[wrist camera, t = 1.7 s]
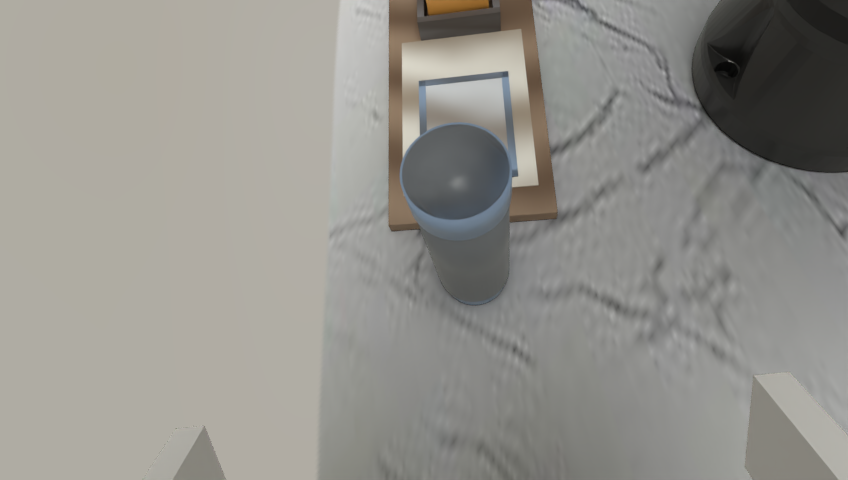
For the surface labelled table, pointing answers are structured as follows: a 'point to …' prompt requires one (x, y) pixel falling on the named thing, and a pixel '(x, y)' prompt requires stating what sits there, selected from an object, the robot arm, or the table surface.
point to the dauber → (462, 206)
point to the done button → (454, 6)
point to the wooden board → (470, 93)
